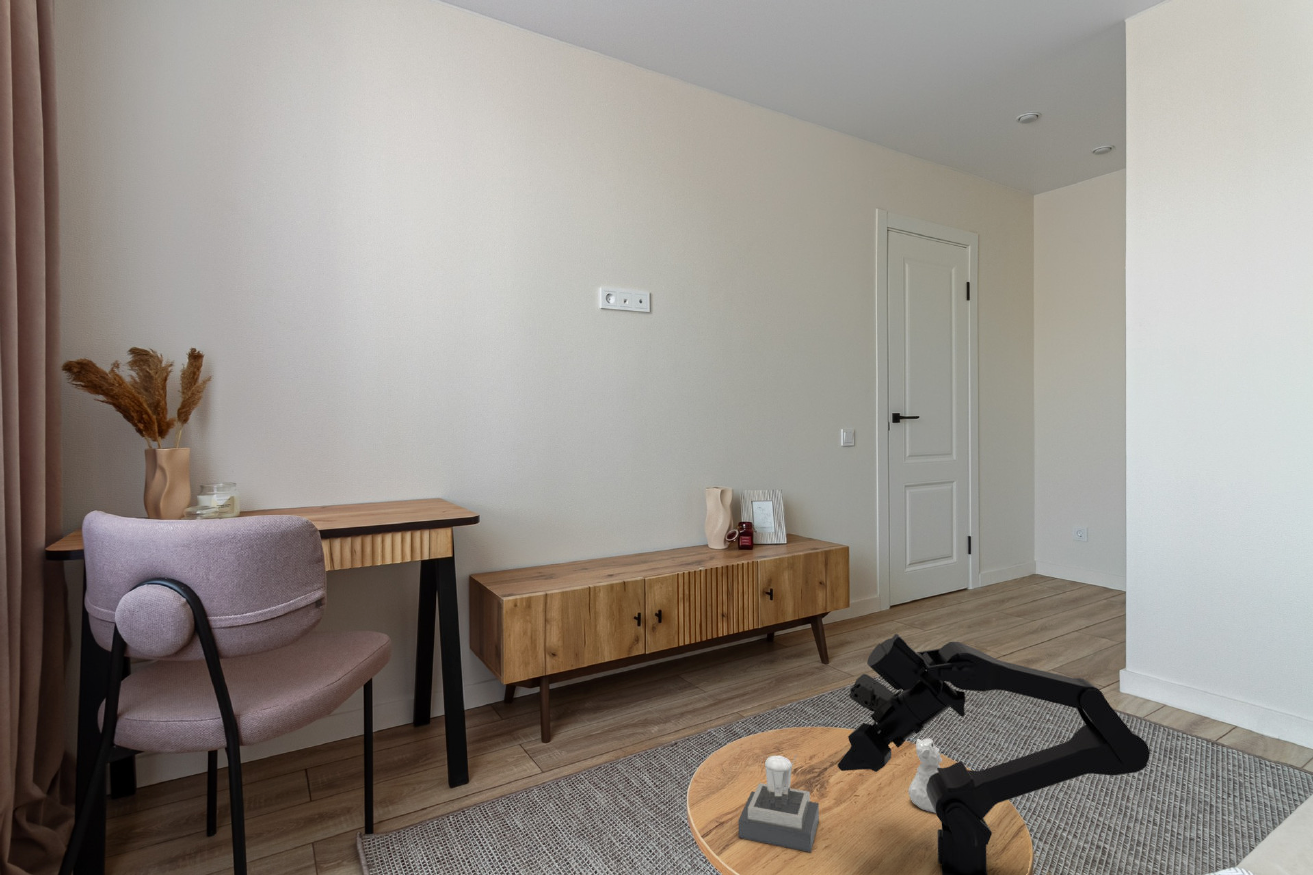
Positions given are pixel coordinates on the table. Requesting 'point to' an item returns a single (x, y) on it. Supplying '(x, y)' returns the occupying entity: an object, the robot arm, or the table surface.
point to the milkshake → (778, 782)
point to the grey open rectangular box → (780, 820)
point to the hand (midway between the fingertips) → (849, 757)
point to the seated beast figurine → (924, 773)
